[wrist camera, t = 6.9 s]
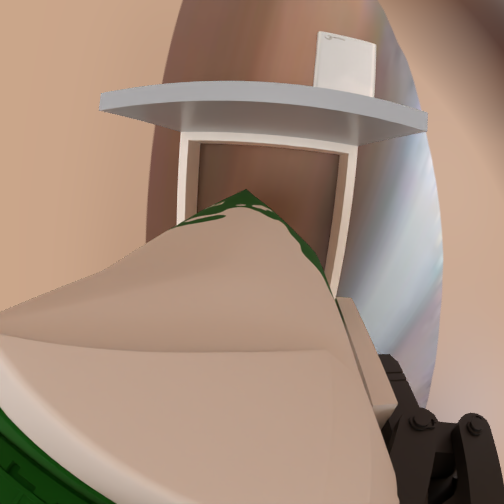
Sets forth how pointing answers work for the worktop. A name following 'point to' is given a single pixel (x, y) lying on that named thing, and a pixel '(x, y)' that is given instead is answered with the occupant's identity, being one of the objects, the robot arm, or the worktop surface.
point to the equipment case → (269, 131)
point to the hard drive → (345, 64)
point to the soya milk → (190, 378)
